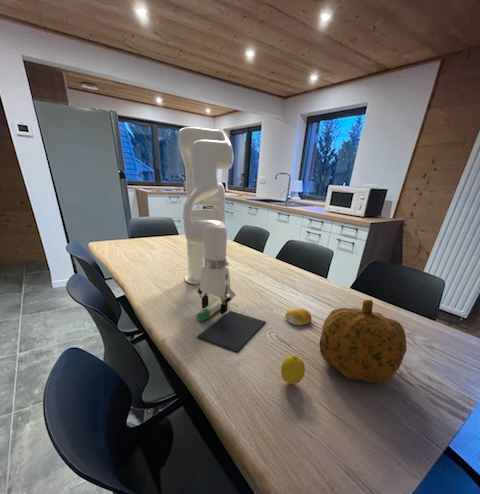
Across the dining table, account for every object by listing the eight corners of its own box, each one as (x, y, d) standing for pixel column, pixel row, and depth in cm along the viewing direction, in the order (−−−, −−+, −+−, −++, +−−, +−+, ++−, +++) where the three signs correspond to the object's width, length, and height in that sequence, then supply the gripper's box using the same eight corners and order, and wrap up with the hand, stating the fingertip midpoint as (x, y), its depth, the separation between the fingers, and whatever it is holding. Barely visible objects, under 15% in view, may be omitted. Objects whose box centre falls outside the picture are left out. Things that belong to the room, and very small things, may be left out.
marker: (220, 304, 102) (221, 296, 101) (227, 306, 101) (228, 298, 100) (196, 320, 90) (196, 311, 89) (204, 322, 89) (204, 314, 87)
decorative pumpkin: (357, 405, 58) (379, 322, 51) (300, 356, 76) (311, 290, 69) (417, 385, 66) (443, 311, 59) (352, 345, 84) (366, 285, 77)
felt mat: (230, 312, 96) (230, 310, 96) (265, 322, 91) (265, 321, 91) (197, 337, 80) (197, 336, 80) (237, 352, 75) (237, 350, 75)
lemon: (277, 375, 67) (280, 349, 63) (298, 375, 67) (303, 349, 64) (282, 391, 62) (286, 364, 58) (304, 390, 62) (310, 364, 59)
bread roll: (315, 321, 93) (317, 311, 91) (296, 328, 88) (298, 317, 87) (298, 312, 99) (300, 302, 97) (280, 317, 95) (281, 307, 93)
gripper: (243, 265, 88) (240, 312, 95) (200, 256, 95) (200, 300, 102) (231, 271, 81) (229, 320, 89) (186, 260, 89) (188, 307, 96)
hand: (214, 309), depth 96 cm, fingers open, 7 cm apart
